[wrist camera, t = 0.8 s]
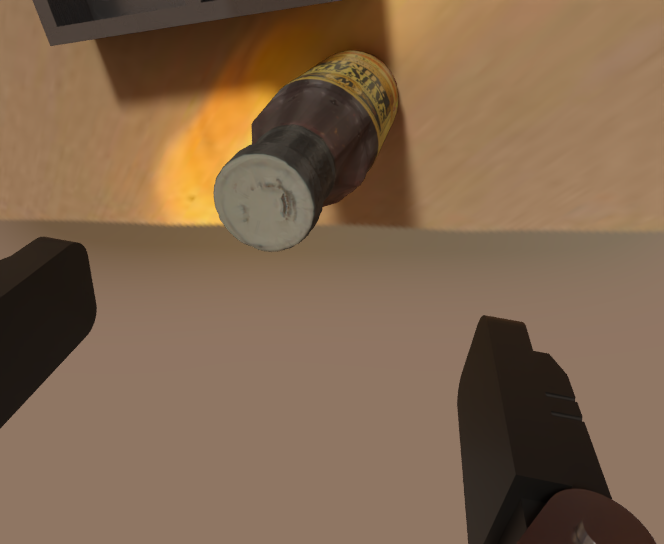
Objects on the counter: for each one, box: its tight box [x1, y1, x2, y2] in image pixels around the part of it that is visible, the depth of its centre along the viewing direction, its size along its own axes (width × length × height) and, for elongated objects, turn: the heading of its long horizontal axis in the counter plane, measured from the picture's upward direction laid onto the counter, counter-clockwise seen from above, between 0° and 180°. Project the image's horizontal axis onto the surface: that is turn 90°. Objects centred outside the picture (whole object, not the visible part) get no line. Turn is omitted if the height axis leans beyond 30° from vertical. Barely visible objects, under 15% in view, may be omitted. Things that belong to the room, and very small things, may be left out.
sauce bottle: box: [214, 50, 398, 252], centre depth 27 cm, size 7×6×20 cm
